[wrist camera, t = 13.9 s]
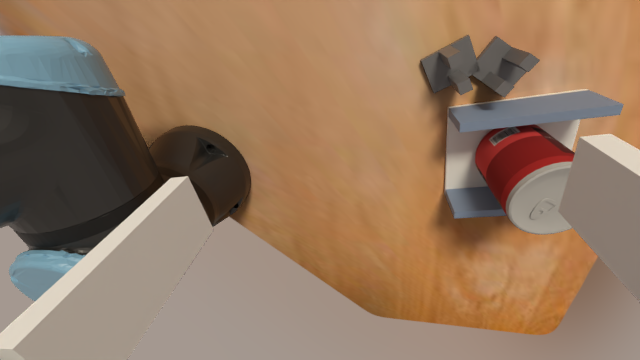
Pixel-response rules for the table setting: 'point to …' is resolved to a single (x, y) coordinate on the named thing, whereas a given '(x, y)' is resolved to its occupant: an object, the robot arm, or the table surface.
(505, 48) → the clip
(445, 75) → the clip
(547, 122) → the holder
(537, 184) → the canned food
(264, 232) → the table surface
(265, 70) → the table surface
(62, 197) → the robot arm
